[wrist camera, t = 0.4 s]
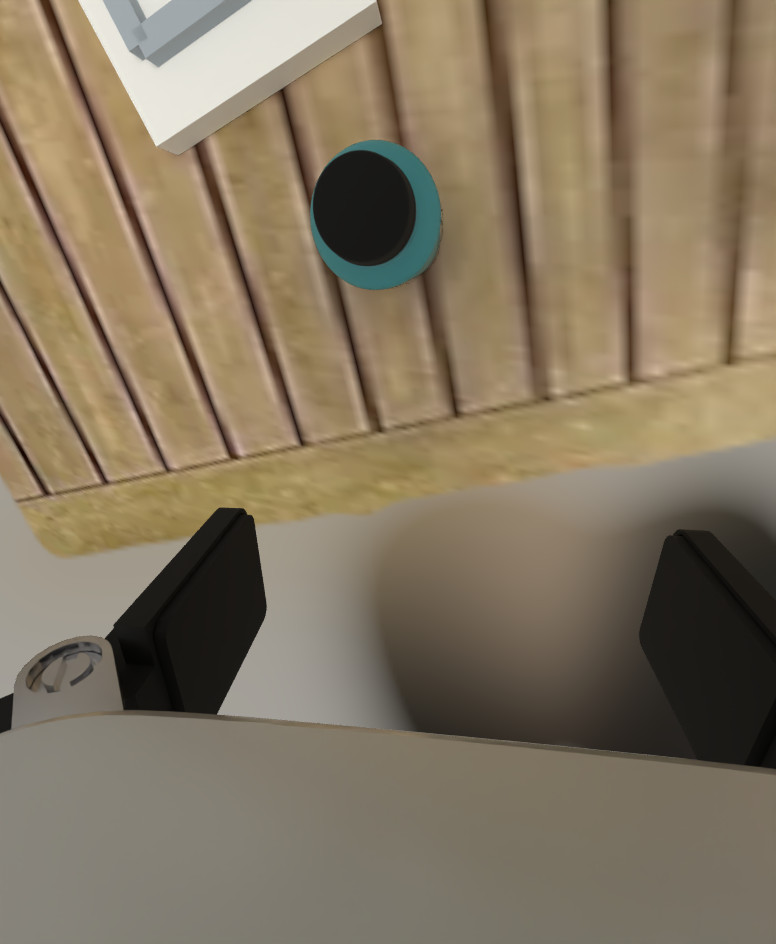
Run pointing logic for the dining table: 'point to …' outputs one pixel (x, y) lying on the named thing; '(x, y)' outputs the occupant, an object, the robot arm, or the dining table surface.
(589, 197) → the dining table surface
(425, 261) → the beverage bottle
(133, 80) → the display stand
